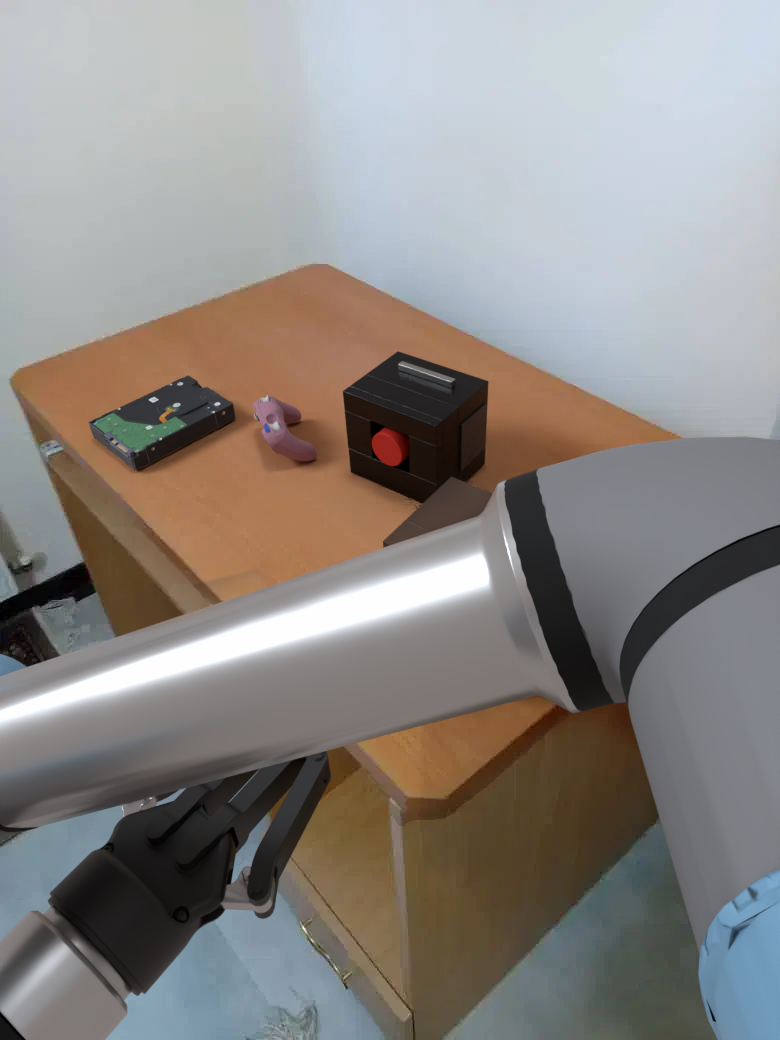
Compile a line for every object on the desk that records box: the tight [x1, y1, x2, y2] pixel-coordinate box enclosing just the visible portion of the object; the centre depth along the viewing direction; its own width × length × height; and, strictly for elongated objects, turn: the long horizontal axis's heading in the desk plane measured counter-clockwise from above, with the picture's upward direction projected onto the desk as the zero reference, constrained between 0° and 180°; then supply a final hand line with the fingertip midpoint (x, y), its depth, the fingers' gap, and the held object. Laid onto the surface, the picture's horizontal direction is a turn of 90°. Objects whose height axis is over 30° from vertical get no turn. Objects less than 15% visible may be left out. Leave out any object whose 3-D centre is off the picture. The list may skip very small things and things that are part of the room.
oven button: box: [372, 427, 409, 466], centre depth 85 cm, size 4×3×4 cm, turn 53°
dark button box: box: [342, 351, 490, 505], centre depth 87 cm, size 12×10×12 cm
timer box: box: [382, 477, 493, 548], centre depth 68 cm, size 10×10×13 cm
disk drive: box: [88, 375, 236, 471], centre depth 99 cm, size 10×3×15 cm
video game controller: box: [252, 394, 318, 462], centre depth 94 cm, size 10×5×7 cm, turn 17°
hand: (357, 664), depth 56 cm, fingers closed
